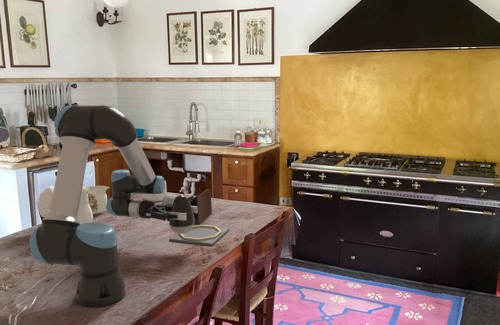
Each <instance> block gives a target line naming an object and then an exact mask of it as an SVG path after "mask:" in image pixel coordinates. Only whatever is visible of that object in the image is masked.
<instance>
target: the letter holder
mask: <svg viewBox="0 0 500 325" xmlns="http://www.w3.org/2000/svg"><path fill="white" fill-rule="evenodd" d="M189 202H190V204H191V206H197V212H198V213H193V214H194V221H195V222H194V225H201V224H202V222H204V221H205V220H206V219H207V218H208V217H210V215H211V214H212V213H213V207H212V205H213V204H212V203H213V202H212V191H211V188H207V189H204V190H203V191H202V192H201V193H199V194H197V195H196V196H194V198H193V199H192V200H190V201H189Z"/></svg>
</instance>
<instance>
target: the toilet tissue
mask: <svg viewBox="0 0 500 325" xmlns="http://www.w3.org/2000/svg"><path fill="white" fill-rule="evenodd" d="M166 194H168V192H167V182H166V180H165V188H164V191H163V193H161V194H143V199H144V200H150V201H153V202H163V198H164V196H165V195H166Z"/></svg>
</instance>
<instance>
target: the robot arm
mask: <svg viewBox="0 0 500 325" xmlns="http://www.w3.org/2000/svg"><path fill="white" fill-rule="evenodd" d="M53 124H54V125H53V126H54V132H55V136H57V137H58V142H59V143H60V144H61V146H62V148H61V151H60V152H61V153H60V156H59V163H58V166H57V172H56V178H55V181H54V191H53V196H52V201H51V206H50V211H49V215H48V216H47V217H43V218H42V220H41V225H39V226H36V227H35V228H34V229H33V231H32V232H31V234H30V238H29V249H30V250H29V251H30V252H31V253H30V254H32V257H33V259H34V260H35V261H36V262H39V263H41V264H46V265H47V264H48V265H51V266H52V265H60V266H61V265H65V266H79V279H78V284H77V288H76V292H75V299H76V302H77V304H79V305H80V306H83V307H86V308H87V307H88V308H100V307H106V306H109V305H112V304H115V303H117V302H119V301H120V300H122V299H123V298H125V297H126V293H127V292H126V284H125V283H124V280H123V277H122V275H121V273H120V271H119V256H118V254H119V253H118V239H117V234H116V229H115V228H114V227H113V226H112V225H111V224H108V223H104V222H99V221H98V222H96V221H92V223H84V224H81V225H80V222H79V221H78V220H77V214H78V209H79V203H80V197H81V192H82V186H84V180H85V174H86V169H87V168H86V167H87V163H88V159H89V153H90V152H89V151H90V150H92V149H93V148H95V145H96V140H106V141H109V142H111V144H112V145H113V146H114V147H116V148H117V149H118V151H119V152H120V154H121V156H122V157H123V159H124V162H125V163H126V165H127V166H128V168H129V169H130V170H129V169H117V170H114V171H112V172H111V176H110V177H111V194H112V197H110V198H109V199H107V205H106V211H107V213H108V214H109V215H112V216H116V217H127V218H135V219H137V220H138V218H139V219H145V220H146V219H148V220H149V219H154V220H161V221H167V222H169V221H170V218H171V219H175V220H186V213H178V212H170V210H171V206H172V204H166V203H163V202H162V203H161V204H158V203H157V204H155V202H154V201H150V200H147V199H137V198H132V194H142V195H144V194H161V193H163V191H164V188H165V181H166V180H165V178H164V177H163V176H162V175H156V174H155V171H154V170H153V168H152V166H151V164H150V162H149V160H148V157H147V156H146V154H145V152H144V149H143V148H142V146H141V144H140V142H139V140H138V132H137V130H136V127H135V125H134V124H133V123H132V121H131V120H130V119H129V118H128V117H127V116H126V115H125V114H124V113H122V111H119V110H118V109H116V108H115V107H113V106H109V105H105V104H103V105H79V104H74V105H67V106H64V107H62V108H60V109H59V110H58V112H57V113H56V114H55V118H54V123H53ZM130 171H131V173H132V174H133V175H132V174H131V173H130ZM191 207H192V210H193V213H198V212H197V206H191Z"/></svg>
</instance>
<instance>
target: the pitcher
mask: <svg viewBox="0 0 500 325" xmlns="http://www.w3.org/2000/svg"><path fill="white" fill-rule="evenodd" d="M109 188H110V186H106V185H90V186H87V187H85V189H87V190H89V191H88V193H87V194H88V203H89V206H90V208H91V210H92V214H93V215H100V214H104V212H105V210H106V209H107V202H108V196H107V193H106V192H107V190H108V189H109Z"/></svg>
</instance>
